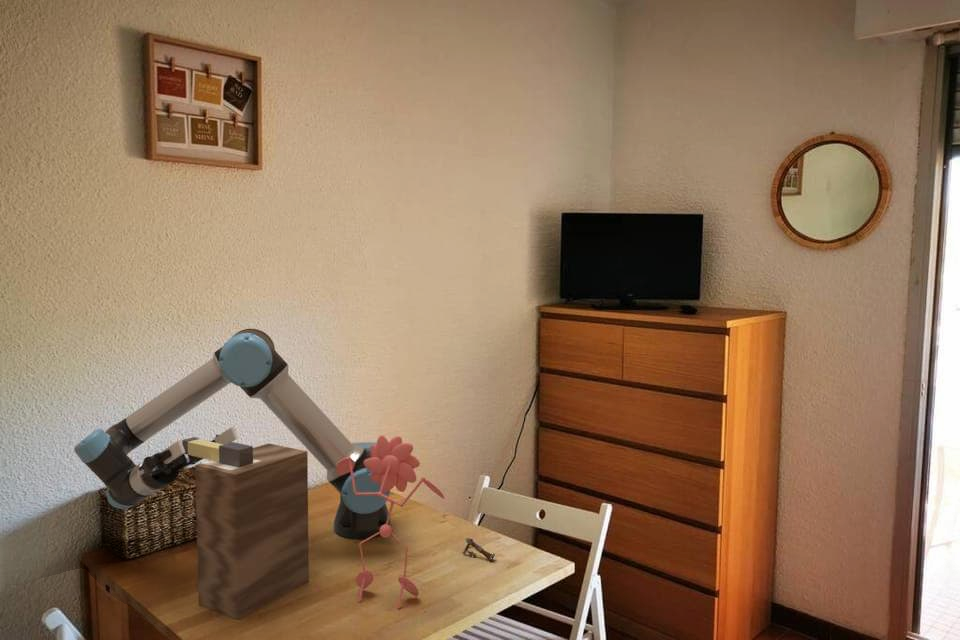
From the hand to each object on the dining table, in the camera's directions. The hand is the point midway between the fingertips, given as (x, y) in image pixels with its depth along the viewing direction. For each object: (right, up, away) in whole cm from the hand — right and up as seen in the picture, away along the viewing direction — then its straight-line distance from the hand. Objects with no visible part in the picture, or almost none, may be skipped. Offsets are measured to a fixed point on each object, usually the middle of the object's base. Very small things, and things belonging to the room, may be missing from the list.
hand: (209, 439), depth 156 cm
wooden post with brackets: (+57, -33, +23) cm, 70 cm away
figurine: (+38, -34, +5) cm, 52 cm away
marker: (+2, -4, -1) cm, 4 cm away
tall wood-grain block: (+9, -34, +4) cm, 35 cm away
